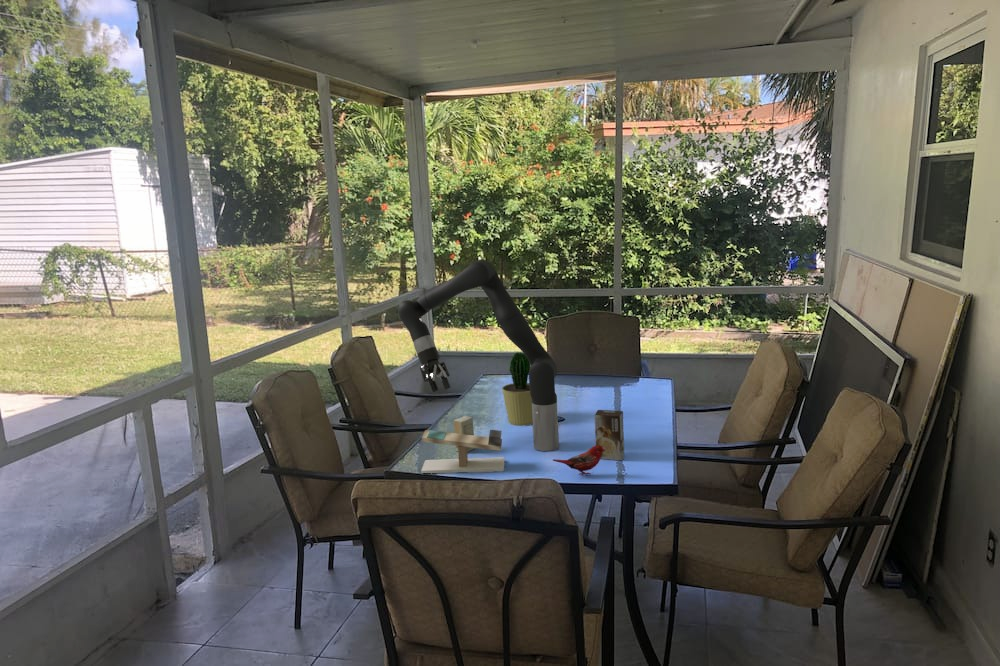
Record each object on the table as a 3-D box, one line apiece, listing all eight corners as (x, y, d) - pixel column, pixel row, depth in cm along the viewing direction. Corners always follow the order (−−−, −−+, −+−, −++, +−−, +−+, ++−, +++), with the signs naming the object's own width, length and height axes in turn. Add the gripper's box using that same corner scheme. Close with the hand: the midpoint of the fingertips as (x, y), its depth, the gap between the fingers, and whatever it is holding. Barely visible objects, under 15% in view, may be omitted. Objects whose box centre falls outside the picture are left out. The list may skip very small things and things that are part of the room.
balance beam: (501, 442, 234) (503, 430, 233) (500, 450, 226) (502, 438, 225) (424, 434, 234) (426, 421, 233) (421, 441, 226) (422, 429, 226)
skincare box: (466, 446, 252) (464, 415, 250) (475, 448, 249) (473, 417, 247) (455, 451, 247) (452, 419, 245) (463, 453, 245) (461, 421, 242)
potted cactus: (496, 423, 279) (492, 352, 273) (520, 413, 290) (517, 345, 284) (524, 429, 268) (520, 356, 263) (548, 420, 279) (545, 349, 274)
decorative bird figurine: (607, 475, 218) (606, 445, 217) (553, 479, 217) (552, 450, 215) (605, 471, 221) (604, 442, 219) (552, 476, 220) (550, 446, 218)
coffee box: (625, 454, 236) (624, 410, 233) (621, 461, 230) (620, 416, 227) (599, 452, 239) (598, 409, 236) (595, 459, 233) (594, 414, 230)
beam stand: (504, 460, 236) (503, 437, 234) (503, 471, 226) (502, 447, 225) (425, 463, 237) (424, 440, 236) (421, 474, 227) (419, 450, 226)
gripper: (423, 347, 242) (439, 388, 240) (443, 344, 255) (459, 384, 253) (407, 355, 245) (423, 396, 243) (428, 352, 258) (444, 391, 256)
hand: (442, 390), depth 248 cm, fingers open, 8 cm apart
